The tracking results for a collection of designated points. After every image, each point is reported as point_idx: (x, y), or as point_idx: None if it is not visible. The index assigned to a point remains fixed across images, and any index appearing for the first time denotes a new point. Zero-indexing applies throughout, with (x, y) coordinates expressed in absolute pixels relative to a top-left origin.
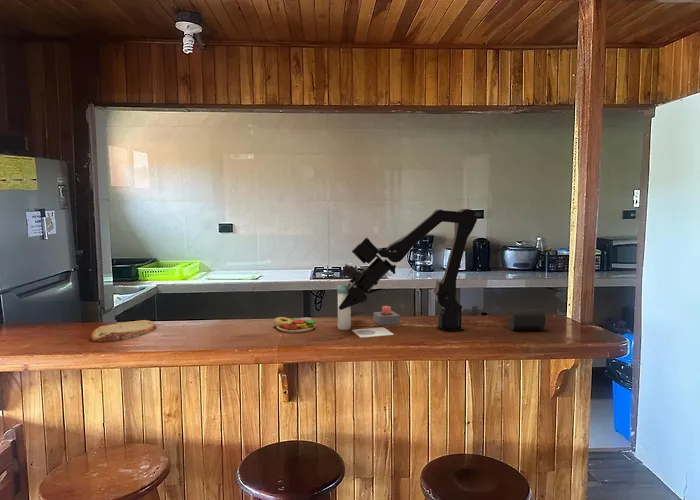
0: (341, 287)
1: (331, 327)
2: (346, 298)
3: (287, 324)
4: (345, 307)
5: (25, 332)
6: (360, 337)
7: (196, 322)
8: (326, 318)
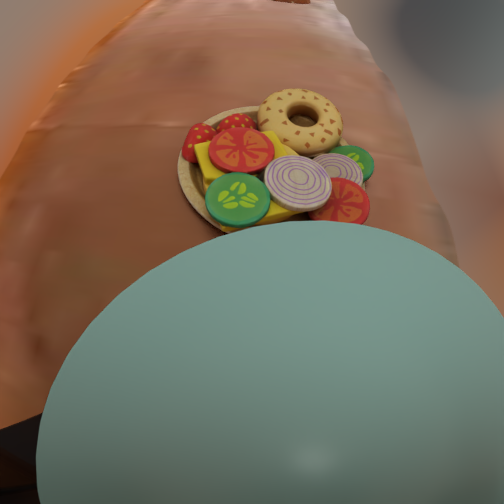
0: (82, 353)
1: None
2: (28, 427)
3: (260, 127)
4: None
5: None
6: None
7: (339, 28)
8: None
